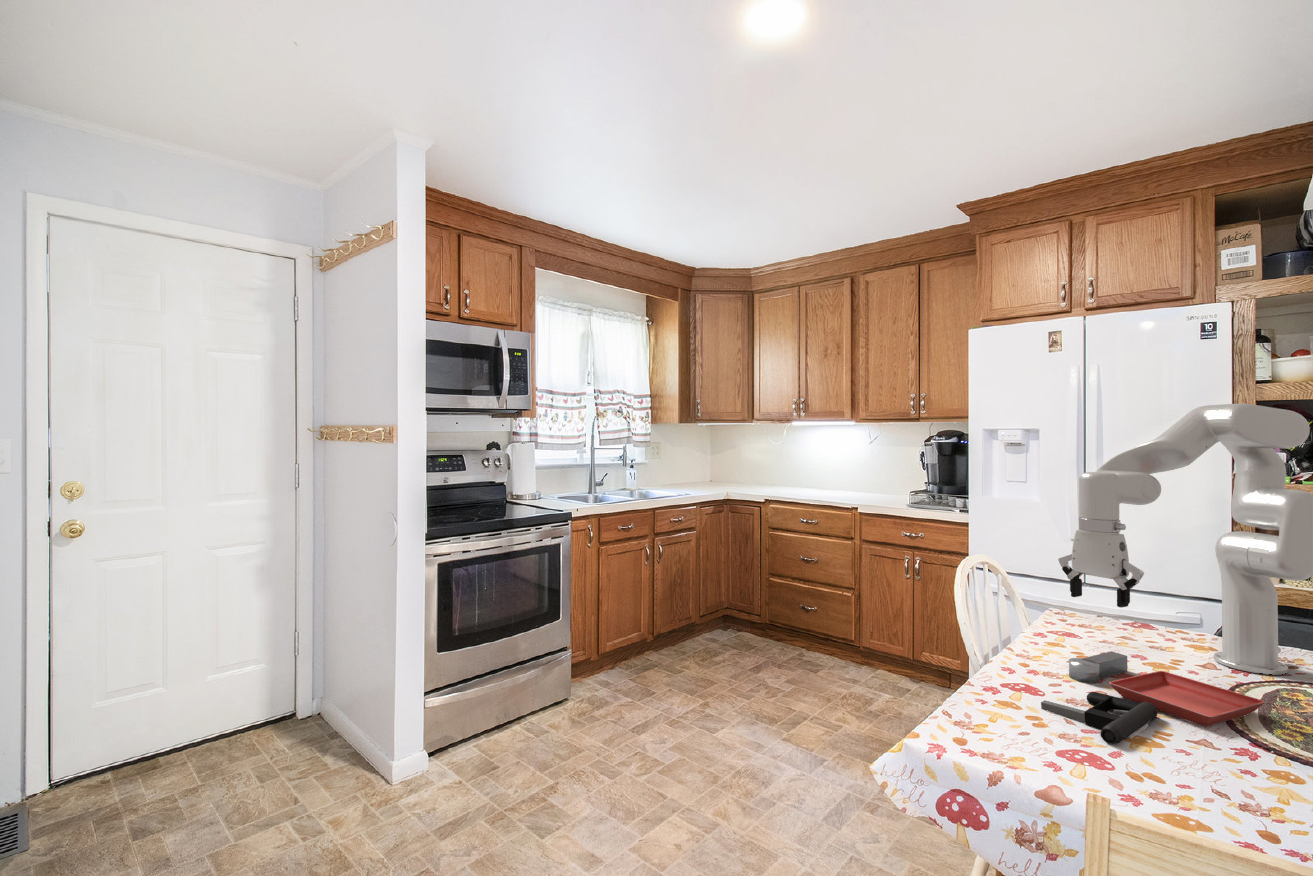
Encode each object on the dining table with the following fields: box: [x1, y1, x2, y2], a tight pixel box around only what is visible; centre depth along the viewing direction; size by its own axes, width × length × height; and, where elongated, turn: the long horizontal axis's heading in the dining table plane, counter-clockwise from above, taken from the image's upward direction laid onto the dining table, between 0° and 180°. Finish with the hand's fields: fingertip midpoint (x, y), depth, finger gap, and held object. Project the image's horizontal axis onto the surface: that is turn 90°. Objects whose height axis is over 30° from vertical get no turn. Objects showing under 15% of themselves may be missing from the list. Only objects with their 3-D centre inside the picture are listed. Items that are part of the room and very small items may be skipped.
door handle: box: [1040, 691, 1161, 745], centre depth 117 cm, size 3×20×16 cm
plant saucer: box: [1108, 670, 1266, 727], centre depth 122 cm, size 18×18×3 cm
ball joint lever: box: [1068, 650, 1128, 684], centre depth 139 cm, size 16×6×4 cm, turn 115°
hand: (1098, 601), depth 138 cm, fingers open, 9 cm apart
